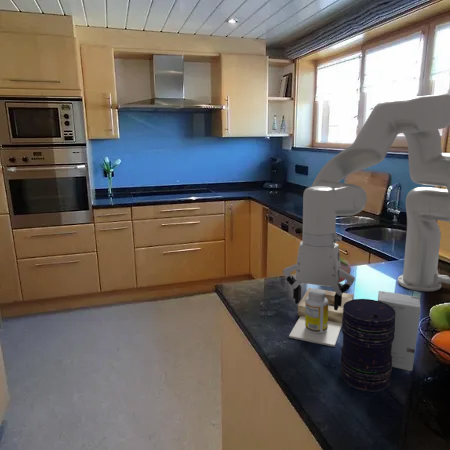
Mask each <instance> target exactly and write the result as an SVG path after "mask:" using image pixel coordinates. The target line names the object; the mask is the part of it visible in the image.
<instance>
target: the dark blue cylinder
mask: <svg viewBox="0 0 450 450" xmlns="http://www.w3.org/2000/svg"><path fill="white" fill-rule="evenodd" d="M395 316H396V312H395V310H394V309H393V308H392V307H391V306H389V305H388V304H385V303H383V302H380V301H378V300H376V299H369V298H356V299H354V298H353V300H350V301H348V302H346V303H345V304H344V306H343V317H342V327H341V331H342V334H343V337H342V346H341V348H340V349H341V352H340V377H341V378H342V379H343V381H344V382H345V383H346V384H348V385H349V386H350V387H352V388H355V389H357V390H360V391H364V392H380V391H384V390H386V389H387V388H388V387H389V386H390V384H391V376H392V370H393V367H392V355H391V349H392V342H393V340H394V336H395V335H394V332H395Z"/></svg>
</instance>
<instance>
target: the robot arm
mask: <svg viewBox="0 0 450 450" xmlns="http://www.w3.org/2000/svg"><path fill="white" fill-rule="evenodd" d="M449 126H450V94H449V93H441V94H430V95H421V96H418V95H417V96H411V97H401V98H400V97H399V98H392V99H385V100H383V101H380V102H379V103H377V104H376V105H375V106H374V108H373V109H372V111H371V112H370V114H369V115H368V117H367V119H366V121H365V123H364V124H363V126H362V127H361V129H360V131H359V132H358V134H357V136H356V137H355V139H354V141H353V142H352V144H350V145H349V146H348V147H346V148H345V149H343V150H342V151H340V152H339V153H337V154H336V155H335V156H334V157H332V158H330V160H328V161H327V162H326V163H325V164H324V165H323V166H322V168H321V169H320V170H319V172H318V173H317V175H316V176H315V179H314V180H313V183H312V184H311V186H309V187H306V188H305V189H304V191H303V197H302V199H303V200H302V204H303V205H302V206H303V207H302V241H300V242H299V246H298V251H297V257H296V258H297V259H296V263H294V264H293V265H290V266H288V267H284V269H283V270H282V272H283V275H284V277H285V278H286V281H287V282H288V283H289V284H290V286H291V289H293V292H292V294H293V295H292V296H293V297H292V298H293V299H294V304H295V305H299V303H300V301H301V300H302V286H301V284H308V285H313V286H314V285H315V286H321V287H330V288H332V289H333V291H334V292H336V293H335V297H334V305H333V306H334V310H338V307H339V306H341V304H342V294H343V293H346V292H347V291H348V290H349V289H350V288H351V286H352V285H353V284H354V282H355V281H356V277H355V276H353V275H352V274H351V273H350V274H349V273H347V272H345V271H344V270H342V269H341V268H340V258H341V254H340V253H341V252H340V248H339V244H338V243H337V242H342V235H339V234H337V232H336V223H337V222H336V221H337V219H336V218H337V216H340V217H341V216H343V217H345V216H354V215H357V214H359V213H360V212H362V211H363V210H364V209H365V207H366V205H367V202H368V196H367V192H366V191H365V189H364V188H362V187H361V186H359V185H357V184H354V183H345V182H344V183H343V182H341V181H342V180H343V179H344V178H346V177H348V176H349V175H351V174H354V173H356V172H358V171H363V170H365V169H368V168H371V167H373V166H375V165H378V164H380V163H381V162H383V161H384V159H385V158H386V156H387V154H388V152H389V151H390V149H391V147H392V145H393V144H394V141H395V140H396V138H397V136H398V135H399V134H403V136H404V137H405V139H406V141H407V152H408V153H407V154H408V171H409V177H410V180H411V181H412V182H413V183H415V184H417V185H424V186H418V187H414V188H412V189H411V190H410V191H409V192H408V193H407V195H406V197H405V211H406V237H405V249H404V260H403V270H402V271H403V272H402V274H400V275H399V276H398V277H397V283H398V284H399V285H400V286H402V287H404V288H406V289H409V290H412V291H417V292H435V291H439V290H440V289H441V288H442V283H443V284H447V285H450V277H449V275H444V274H440V273H439V271H438V265H439V255H440V246H441V245H440V244H441V237H442V236H441V235H442V234H441V233H442V232H441V229H440V226H439V224H438V221H441V222H446V223H447V222H449V223H450V152H443V150H442V139H441V138H442V137H441V133H440V130H442V129H445V128H447V127H449ZM430 186H433V187H430ZM435 186H436V187H435ZM441 187H443V188H441ZM292 272H295V277H294V276H293V275H292ZM340 276H341V277H343V278H344V279H345V281H346V282H345V283H344V284H341V282H339V281H338V280H340Z"/></svg>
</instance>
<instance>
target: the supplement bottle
mask: <svg viewBox="0 0 450 450" xmlns="http://www.w3.org/2000/svg"><path fill="white" fill-rule="evenodd" d="M324 290H325V289H320V288H313V289H311V290H309V296H308V297H307V298H306V300H305V327H306V329H307V330H308V331H309V332H312V333H317V334H319V333H324V332H325V331H327V329H328V306H329V304H328V300H327V298H325V291H324Z"/></svg>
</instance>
